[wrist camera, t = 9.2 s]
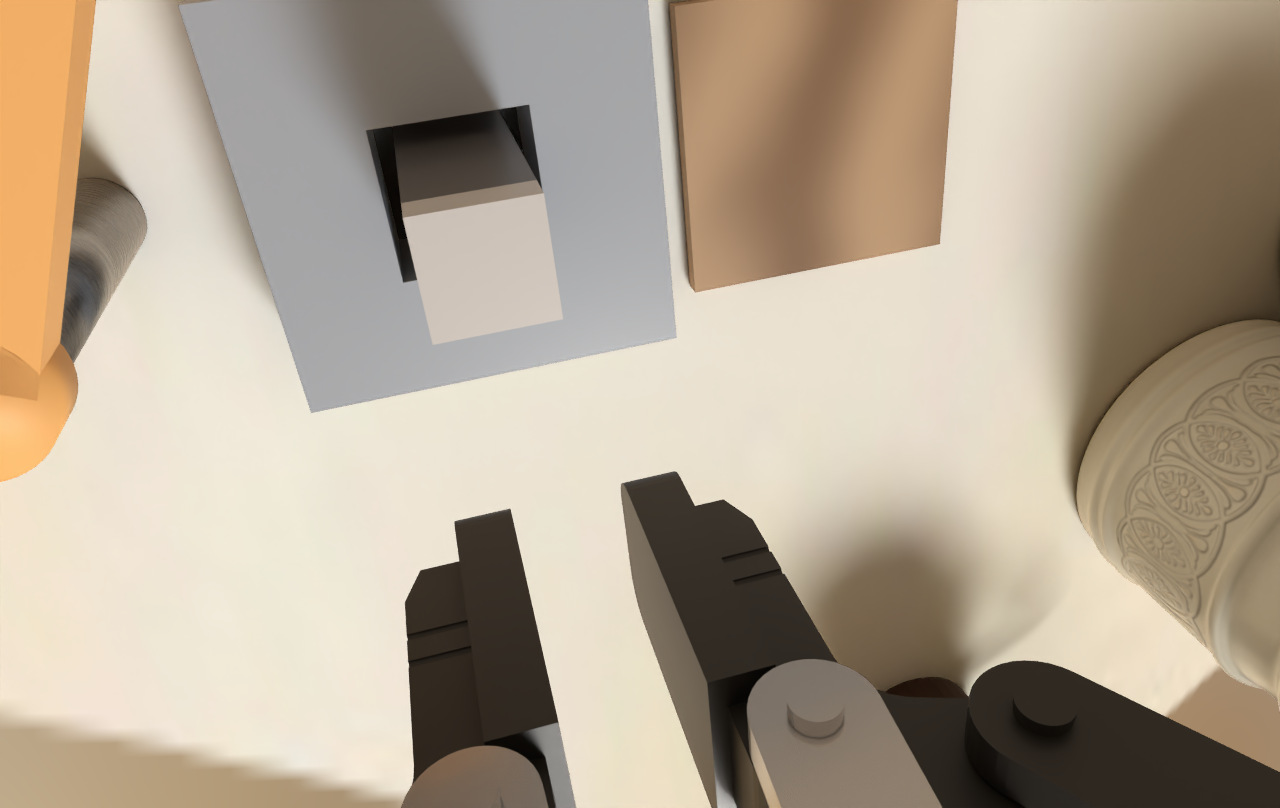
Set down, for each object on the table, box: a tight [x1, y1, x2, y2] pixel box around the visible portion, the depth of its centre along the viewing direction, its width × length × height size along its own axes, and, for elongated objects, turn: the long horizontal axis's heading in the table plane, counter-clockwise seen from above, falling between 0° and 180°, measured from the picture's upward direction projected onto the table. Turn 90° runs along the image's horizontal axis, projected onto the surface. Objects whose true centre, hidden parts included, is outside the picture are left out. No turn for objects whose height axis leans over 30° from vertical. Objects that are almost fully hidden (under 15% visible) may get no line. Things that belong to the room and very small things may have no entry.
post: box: [60, 178, 147, 363], centre depth 23 cm, size 2×2×9 cm
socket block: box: [178, 0, 677, 413], centre depth 27 cm, size 11×11×4 cm
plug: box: [392, 109, 563, 345], centre depth 24 cm, size 3×3×9 cm
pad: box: [669, 0, 958, 292], centre depth 30 cm, size 9×9×1 cm
